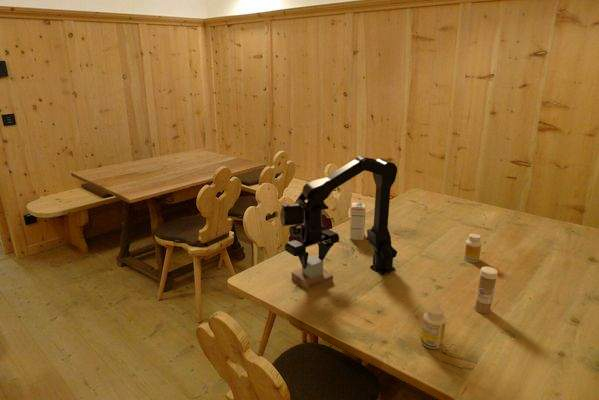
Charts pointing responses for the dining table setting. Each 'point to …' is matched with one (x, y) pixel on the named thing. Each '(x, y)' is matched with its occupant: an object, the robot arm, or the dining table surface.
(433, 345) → the supplement bottle
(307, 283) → the walnut block
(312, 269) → the gray cube
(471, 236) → the supplement bottle
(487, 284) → the sprinkles bottle
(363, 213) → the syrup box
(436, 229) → the dining table surface
